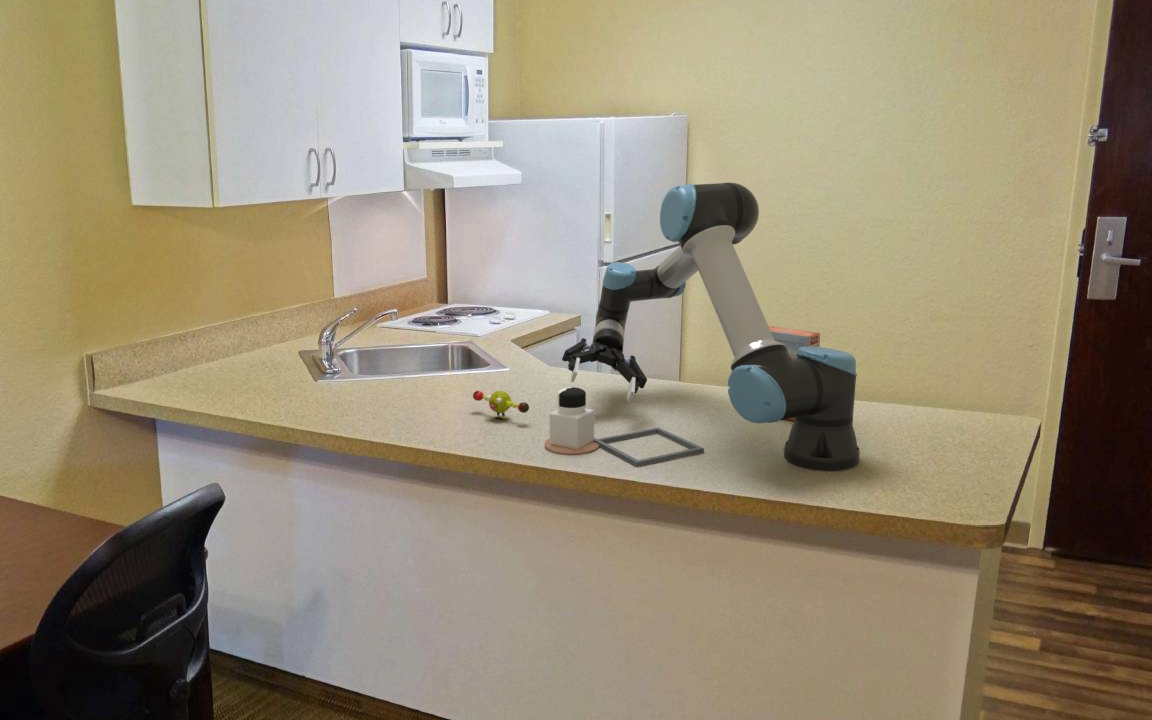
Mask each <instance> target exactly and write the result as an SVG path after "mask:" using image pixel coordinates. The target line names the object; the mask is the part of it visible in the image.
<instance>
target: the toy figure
mask: <svg viewBox="0 0 1152 720" xmlns="http://www.w3.org/2000/svg"><path fill="white" fill-rule="evenodd" d="M472 397H473V399H474V400H475V401H482V400H483V399H484V400H485V401H487V402H488V405H489V408H490V409H491V410H492V411H493V412H495V413H496V416H494V419H499V420H503V421H504V420H505V419H506V416H505V415H506V414H505V413H506V412H507V411H508V410H509V409H510V408H512V409H513V408H514V409H515V408H517V409H518V411H519V412H521V413H525V414H526V413H527V412H528V411H529V409H530V405H529V404H528V403H527V402H525V401H523V402H520V403H519V404H517V403H516V402H512V399H511V396H510V395H509V394H508V393H507V392H506V391H503V390H497V391H494V392H493V393H492V394H488V395H486V396H484V393H483V392H482V391H481V390H476V391H474V392H473V394H472ZM500 414H501V416H500Z"/></svg>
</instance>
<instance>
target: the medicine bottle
mask: <svg viewBox="0 0 1152 720" xmlns="http://www.w3.org/2000/svg"><path fill="white" fill-rule="evenodd" d="M586 393H587V392H586V391H585V390H584V389H582V388H579V387H574V386H573V387H572V386H571V387H564V388H562V389H559V390H558V392H557V410H554V411H552V412H550V413H549V438H550V444H551V445H556V446H562V447H567V448H572V449H579V448H581V447H583V446H585V445H586V444H588V443H590V442H592V441H593V440H594V438H595V415H594V414H595V411H594V409H591V408H587V404H586V403H587V402H586V401H587V400H586V399H587V396H586V395H587V394H586Z"/></svg>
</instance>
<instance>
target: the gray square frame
mask: <svg viewBox="0 0 1152 720" xmlns="http://www.w3.org/2000/svg"><path fill="white" fill-rule="evenodd" d="M655 434H658V435H660V436H661V437H664V438H666V439H668V440H669V441H673V442H675V443H677V444H678V445H681V446H683V447H685V448H688V449H684V450H681V451H680V450H679V451H674V452H671V453H665V454H661V455H657V456H652V457H651V456H650V457H646V458H642V459H637V458H636V457H633V456H631V455H629V454H627V453H625V452H623V451H622V450H620V449H618V448H616V447H613V446H612V445H610V444H609V443H615V442H619V441H624V440H630V439H635V438H640V437H645V436H651V435H655ZM594 442H596V443H598V444H600V447H599V449H600V448H601V449H602V450H604V451H606V452H608V453H610V454H611V455H614V456H615V457H617V458H619V459H621V460H623V461H625V462H626V463H628V464H630V465H632V466H633V467H636V468H639V467H644V466H647V465H652V464H657V463H662V462H668V461H670V460H675V459H676V460H677V459H681V458H682V459H683V458H686V457H691V456H695V455H700V454H704V453H705V448H704V447H702V446H700V445H698V444H696V443H694V442H691V441H689V440H687V439H685V438H682V437H680V436H678V435H675V434H674V433H671V432H669V431H668V430H665V429H663V428H661V427H654V428H647V429H643V430H642V429H641V430H637V431H632V432H627V433H621V434H616V435H612V436H605V437H600V438H596V439H594Z"/></svg>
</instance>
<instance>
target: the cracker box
mask: <svg viewBox="0 0 1152 720" xmlns="http://www.w3.org/2000/svg"><path fill="white" fill-rule="evenodd" d="M768 327H769V329H770V331H771V334H772V336H773V338H774V340H775V341H777V342H779V343H782V344H784V345H785V346H786V348H787V351H788V353H789V355H790V358H791V359H792V358H797V355H796V354H797V352H798V349H799V348H801V347H820V344H821V343H820V342H821V333H820V332H817V331H809V330H804V329H803V330H802V329H797V328H788V327H782V326H774V325H768ZM794 418H795V417H794ZM794 418H789V419H786V420H788V421H792V422H794Z"/></svg>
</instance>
